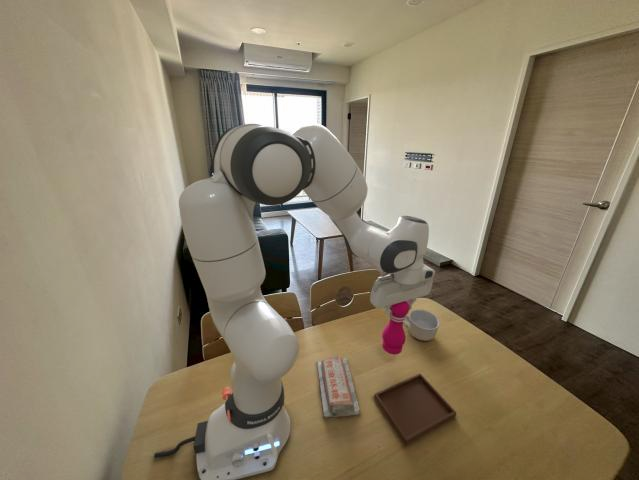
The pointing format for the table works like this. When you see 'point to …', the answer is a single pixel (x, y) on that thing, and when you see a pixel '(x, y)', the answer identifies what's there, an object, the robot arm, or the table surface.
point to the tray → (414, 408)
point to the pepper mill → (395, 329)
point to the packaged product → (337, 388)
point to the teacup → (422, 324)
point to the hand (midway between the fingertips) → (398, 311)
